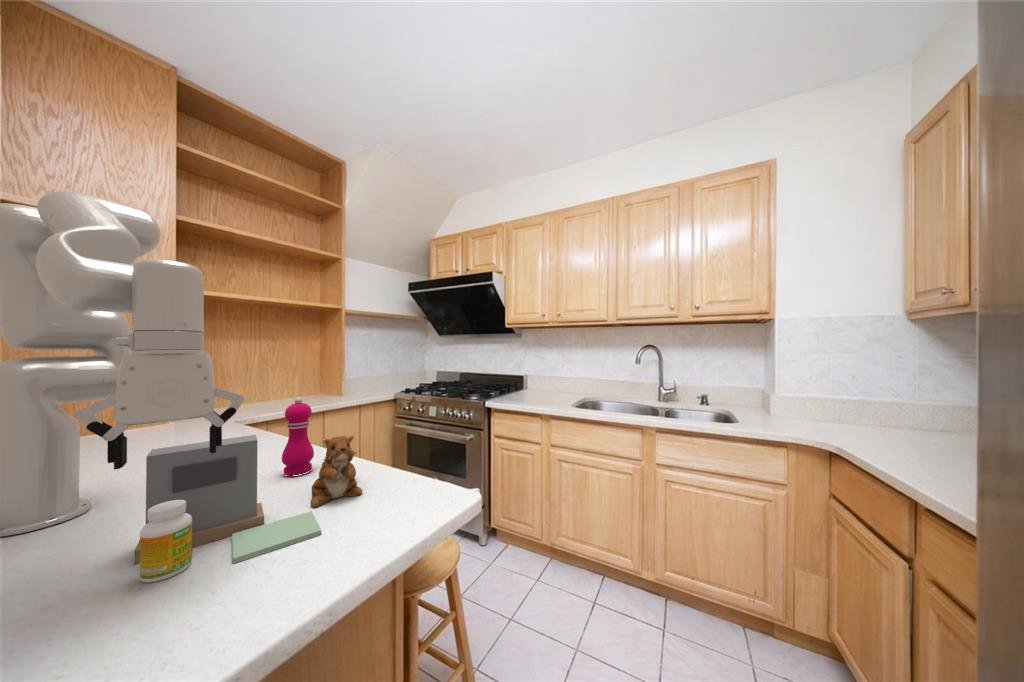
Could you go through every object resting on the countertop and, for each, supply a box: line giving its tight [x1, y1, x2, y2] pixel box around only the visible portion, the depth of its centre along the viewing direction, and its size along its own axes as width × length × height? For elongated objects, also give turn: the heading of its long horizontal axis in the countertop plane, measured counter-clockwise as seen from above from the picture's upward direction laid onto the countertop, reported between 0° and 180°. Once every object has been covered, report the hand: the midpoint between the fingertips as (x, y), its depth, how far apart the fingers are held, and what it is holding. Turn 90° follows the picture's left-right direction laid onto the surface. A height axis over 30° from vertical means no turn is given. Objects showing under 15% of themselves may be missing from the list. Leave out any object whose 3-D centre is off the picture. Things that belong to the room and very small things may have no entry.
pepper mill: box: [281, 396, 315, 476], centre depth 88 cm, size 7×7×20 cm
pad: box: [231, 510, 322, 565], centre depth 58 cm, size 12×9×1 cm
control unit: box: [133, 434, 265, 565], centre depth 59 cm, size 16×7×16 cm, turn 131°
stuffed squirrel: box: [310, 435, 363, 508], centre depth 76 cm, size 10×14×13 cm
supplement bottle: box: [139, 500, 193, 584], centre depth 49 cm, size 5×5×10 cm
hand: (169, 458), depth 49 cm, fingers open, 9 cm apart
